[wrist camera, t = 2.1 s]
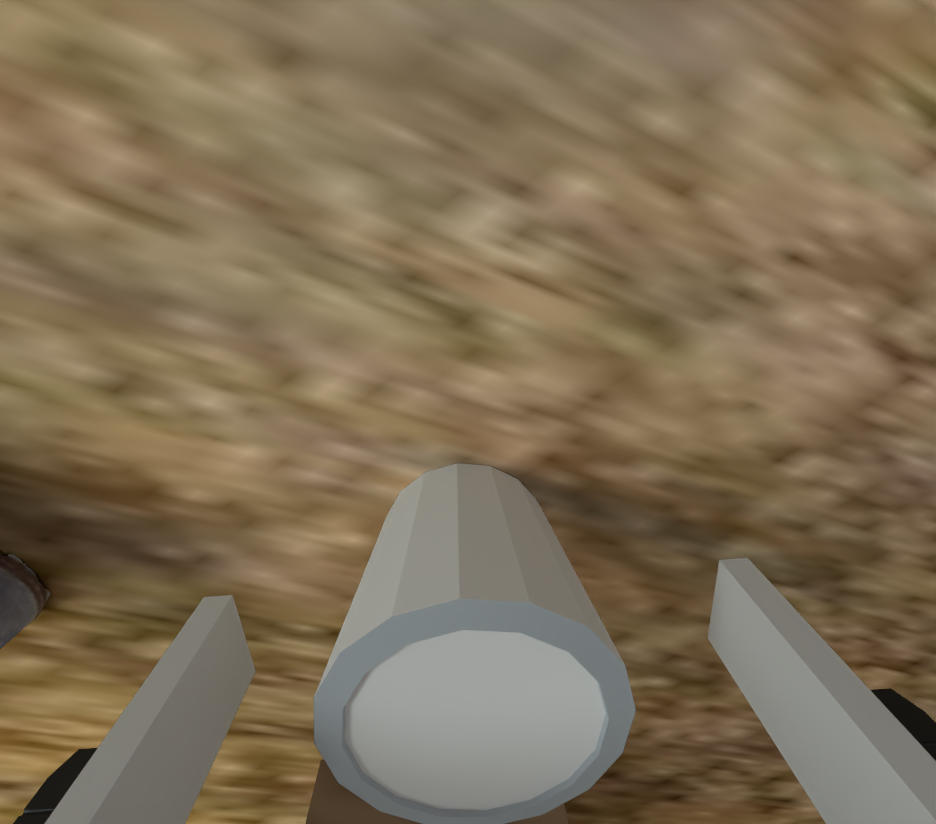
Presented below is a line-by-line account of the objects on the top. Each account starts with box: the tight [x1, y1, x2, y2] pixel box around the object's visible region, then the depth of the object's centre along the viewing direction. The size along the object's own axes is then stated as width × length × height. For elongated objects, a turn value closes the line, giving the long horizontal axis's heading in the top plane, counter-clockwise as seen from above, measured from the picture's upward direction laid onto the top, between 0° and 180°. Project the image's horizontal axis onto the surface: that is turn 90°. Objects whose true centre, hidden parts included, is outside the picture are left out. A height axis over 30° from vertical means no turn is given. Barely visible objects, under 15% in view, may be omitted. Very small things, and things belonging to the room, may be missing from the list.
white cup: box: [314, 463, 636, 824], centre depth 13 cm, size 7×7×7 cm
